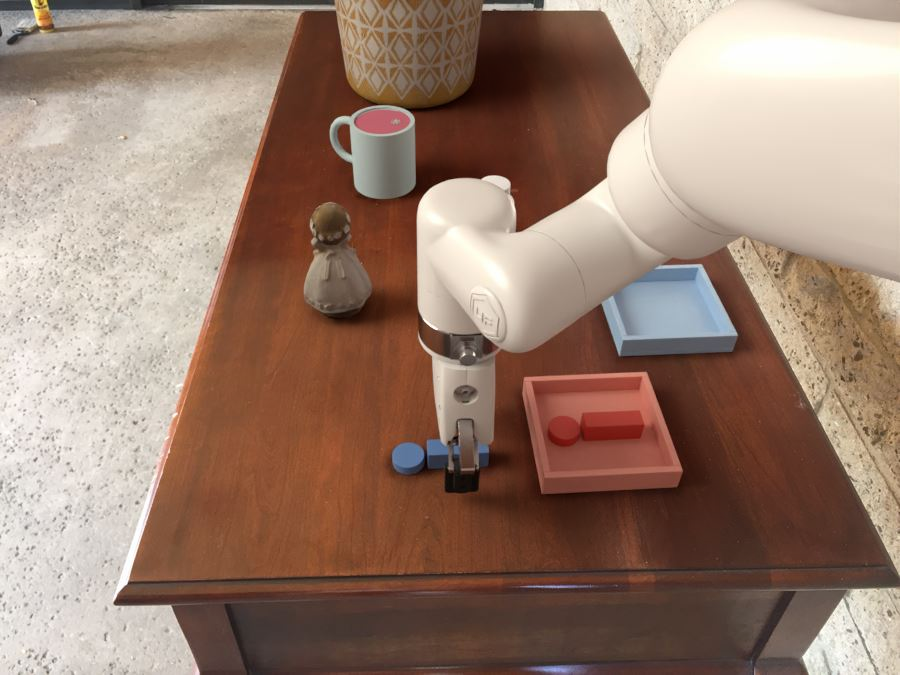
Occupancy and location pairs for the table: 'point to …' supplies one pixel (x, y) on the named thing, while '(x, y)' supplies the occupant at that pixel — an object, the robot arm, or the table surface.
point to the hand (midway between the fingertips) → (457, 451)
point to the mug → (380, 150)
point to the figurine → (335, 266)
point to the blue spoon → (428, 456)
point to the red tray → (602, 459)
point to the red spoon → (596, 427)
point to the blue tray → (669, 314)
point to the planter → (409, 49)
